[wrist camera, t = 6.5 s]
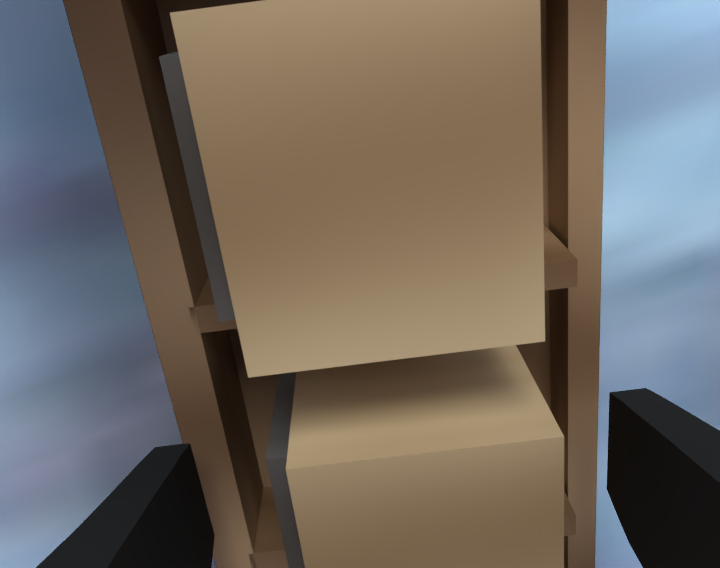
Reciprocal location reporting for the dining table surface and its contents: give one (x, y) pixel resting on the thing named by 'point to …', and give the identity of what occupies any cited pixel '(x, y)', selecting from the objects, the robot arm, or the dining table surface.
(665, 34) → the dining table surface
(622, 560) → the dining table surface
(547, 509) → the tan rectangular block
